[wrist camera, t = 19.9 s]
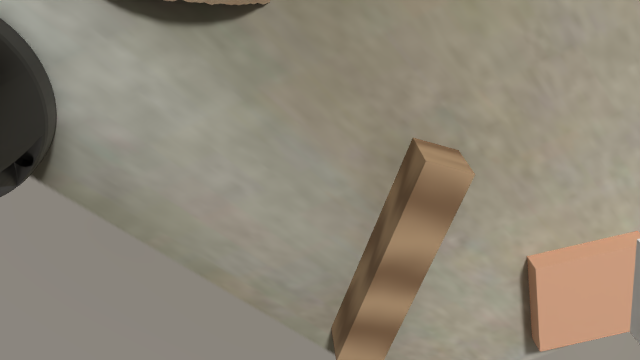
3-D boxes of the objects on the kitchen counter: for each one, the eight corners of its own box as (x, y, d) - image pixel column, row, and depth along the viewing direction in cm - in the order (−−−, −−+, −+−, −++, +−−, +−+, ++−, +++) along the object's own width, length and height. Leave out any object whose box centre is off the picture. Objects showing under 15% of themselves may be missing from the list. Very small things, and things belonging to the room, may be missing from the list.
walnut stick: (412, 136, 47) (425, 161, 43) (457, 148, 48) (475, 174, 44) (331, 325, 55) (336, 361, 51) (370, 333, 56) (379, 369, 52)
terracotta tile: (535, 269, 51) (540, 351, 56) (649, 242, 51) (644, 328, 56) (525, 253, 53) (530, 334, 58) (634, 228, 53) (631, 311, 58)
